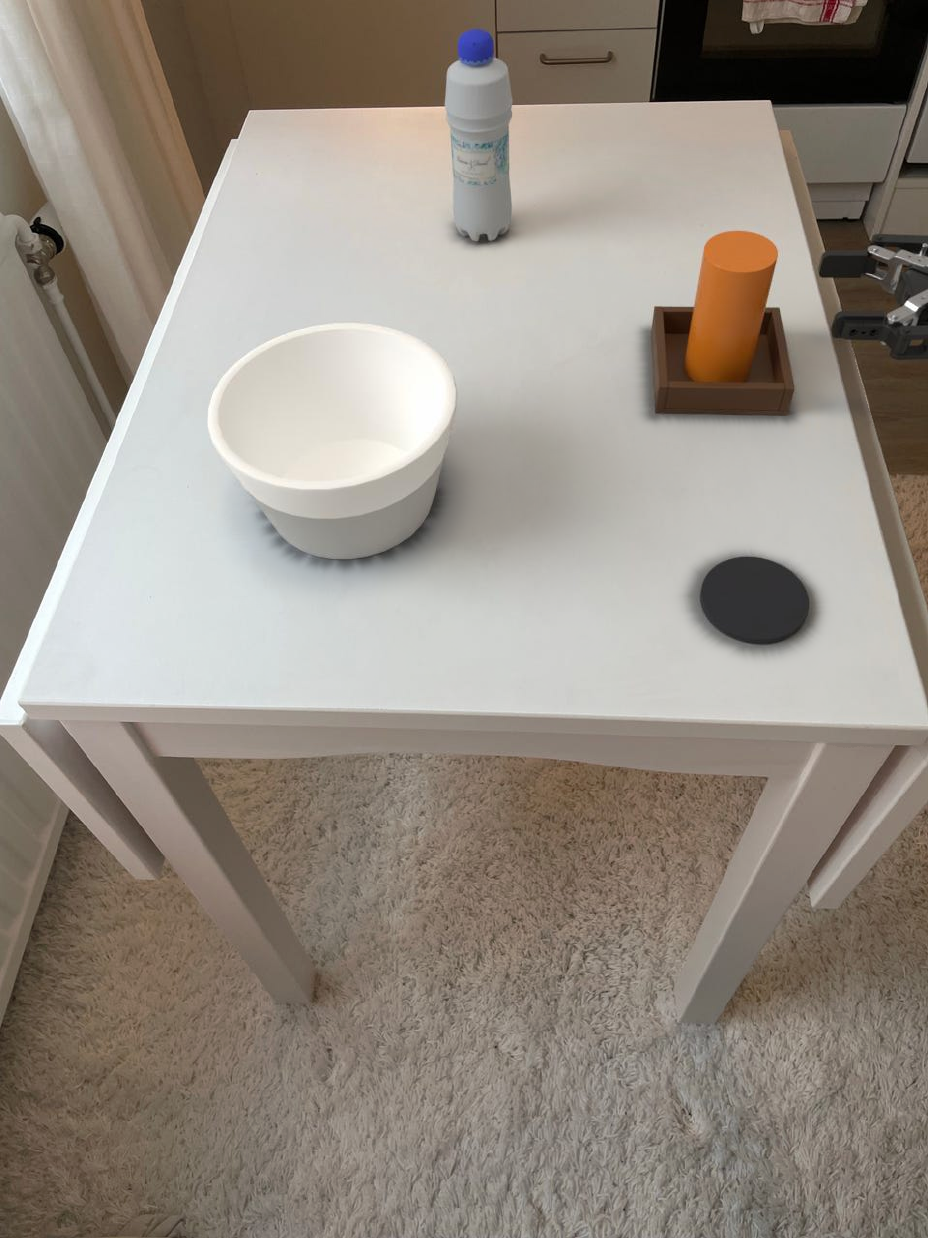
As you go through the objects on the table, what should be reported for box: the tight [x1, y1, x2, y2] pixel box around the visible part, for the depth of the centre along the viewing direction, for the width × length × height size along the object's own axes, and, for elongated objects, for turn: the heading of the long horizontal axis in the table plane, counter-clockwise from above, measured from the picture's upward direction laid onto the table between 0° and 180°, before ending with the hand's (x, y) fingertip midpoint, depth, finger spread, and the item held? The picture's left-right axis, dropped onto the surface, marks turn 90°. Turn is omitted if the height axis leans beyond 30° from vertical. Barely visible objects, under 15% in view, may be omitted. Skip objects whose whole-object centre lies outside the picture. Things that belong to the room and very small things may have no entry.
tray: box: [650, 305, 795, 416], centre depth 88 cm, size 12×12×3 cm
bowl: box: [207, 322, 458, 560], centre depth 77 cm, size 19×19×11 cm
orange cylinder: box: [684, 230, 779, 383], centre depth 84 cm, size 6×6×12 cm
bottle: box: [444, 28, 514, 242], centre depth 97 cm, size 7×7×20 cm
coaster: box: [699, 556, 810, 645], centre depth 73 cm, size 8×8×1 cm
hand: (826, 293), depth 81 cm, fingers open, 8 cm apart
